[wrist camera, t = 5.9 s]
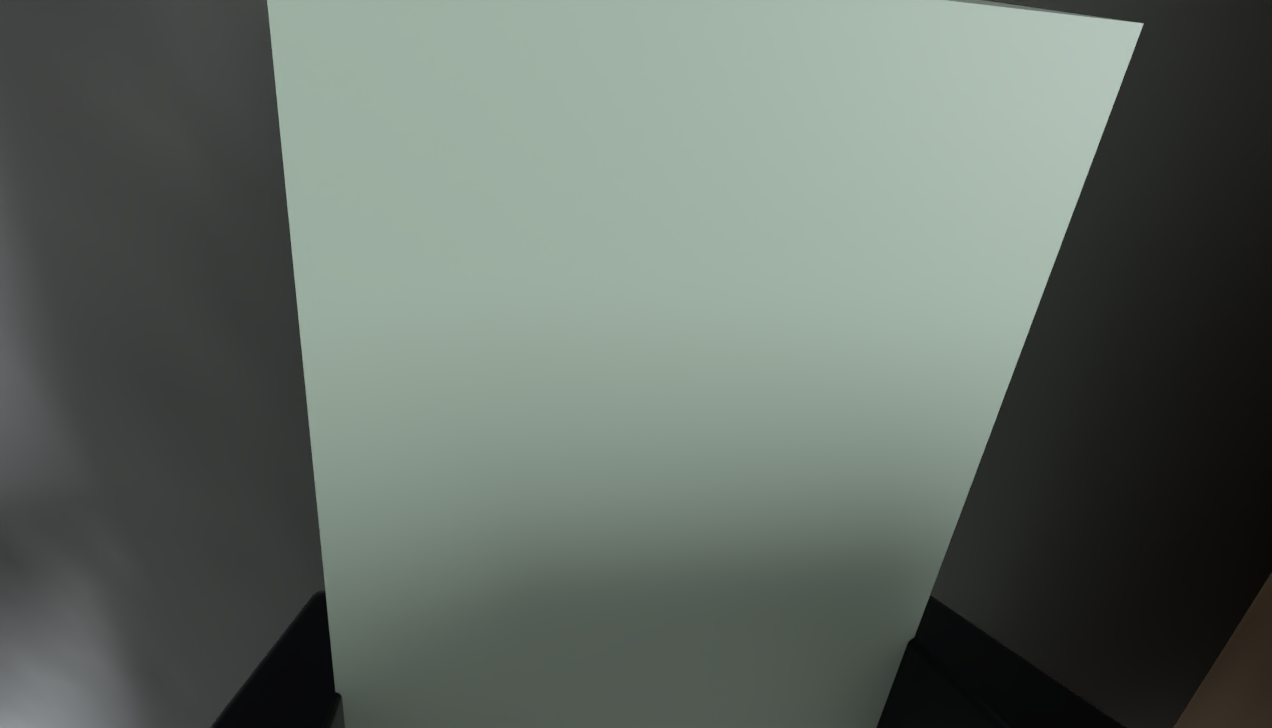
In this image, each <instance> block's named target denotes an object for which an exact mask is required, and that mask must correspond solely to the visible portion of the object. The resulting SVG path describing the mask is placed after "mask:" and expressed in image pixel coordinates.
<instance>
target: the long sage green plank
mask: <svg viewBox="0 0 1272 728" xmlns="http://www.w3.org/2000/svg"><path fill="white" fill-rule="evenodd" d="M267 5H268V15H269V25H270V35H271V45H272V56H273V66H274V76H275V86H276V96H277V106H278V116H279V126H280V137H281V147H282V157H283V167H284V177H285V187H286V197H287V207H288V218H289V228H290V238H291V248H292V258H293V268H294V278H295V288H296V299H297V309H298V319H299V329H300V339H301V349H302V359H303V369H304V380H305V390H306V400H307V410H308V420H309V430H310V440H311V450H312V461H313V471H314V481H315V491H316V501H317V511H318V521H319V531H320V542H321V552H322V562H323V572H324V582H325V592H326V602H327V612H328V623H329V633H330V643H331V653H332V663H333V673H334V683H335V692H337V693H339V694H340V695H341V696H342V701H343V712H344V723H345V728H876V727H877V725H878V722H879V719H880V717H881V714H882V711H883V708H884V706H885V703H886V700H887V698H888V695H889V692H890V690H891V687H892V684H893V681H894V679H895V676H896V673H897V671H898V668H899V665H900V662H901V660H902V657H903V654H904V652H905V649H906V646H907V644H908V642H909V641H910V640H911V639H912V638H914V637H915V634H916V631H917V629H918V626H919V623H920V621H921V618H922V615H923V613H924V610H925V607H926V605H927V602H928V599H929V597H930V594H931V591H932V589H933V586H934V583H935V581H936V578H937V575H938V572H939V570H940V567H941V564H942V562H943V559H944V556H945V554H946V551H947V548H948V546H949V543H950V540H951V538H952V535H953V532H954V530H955V527H956V524H957V522H958V519H959V516H960V514H961V511H962V508H963V506H964V503H965V500H966V498H967V495H968V492H969V490H970V487H971V484H972V482H973V479H974V476H975V474H976V471H977V468H978V466H979V463H980V460H981V458H982V455H983V452H984V449H985V447H986V444H987V441H988V439H989V436H990V433H991V431H992V428H993V425H994V423H995V420H996V417H997V415H998V412H999V409H1000V407H1001V404H1002V401H1003V399H1004V396H1005V393H1006V391H1007V388H1008V385H1009V383H1010V380H1011V377H1012V375H1013V372H1014V369H1015V367H1016V364H1017V361H1018V359H1019V356H1020V353H1021V351H1022V348H1023V345H1024V343H1025V340H1026V337H1027V335H1028V332H1029V329H1030V326H1031V324H1032V321H1033V318H1034V316H1035V313H1036V310H1037V308H1038V305H1039V302H1040V300H1041V297H1042V294H1043V292H1044V289H1045V286H1046V284H1047V281H1048V278H1049V276H1050V273H1051V270H1052V268H1053V265H1054V262H1055V260H1056V257H1057V254H1058V252H1059V249H1060V246H1061V244H1062V241H1063V238H1064V236H1065V233H1066V230H1067V228H1068V225H1069V222H1070V220H1071V217H1072V214H1073V212H1074V209H1075V206H1076V203H1077V201H1078V198H1079V195H1080V193H1081V190H1082V187H1083V185H1084V182H1085V179H1086V177H1087V174H1088V171H1089V169H1090V166H1091V163H1092V161H1093V158H1094V155H1095V153H1096V150H1097V147H1098V145H1099V142H1100V139H1101V137H1102V134H1103V131H1104V129H1105V126H1106V123H1107V121H1108V118H1109V115H1110V113H1111V110H1112V107H1113V105H1114V102H1115V99H1116V97H1117V94H1118V91H1119V89H1120V86H1121V83H1122V80H1123V78H1124V75H1125V72H1126V70H1127V67H1128V64H1129V62H1130V59H1131V56H1132V54H1133V51H1134V48H1135V46H1136V43H1137V40H1138V38H1139V35H1140V32H1141V30H1142V27H1143V24H1144V23H1137V22H1131V21H1124V20H1117V19H1110V18H1103V17H1096V16H1089V15H1082V14H1075V13H1068V12H1061V11H1054V10H1047V9H1040V8H1033V7H1026V6H1019V5H1012V4H1005V3H998V2H992V1H985V0H267Z"/></svg>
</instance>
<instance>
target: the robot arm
mask: <svg viewBox="0 0 1272 728" xmlns="http://www.w3.org/2000/svg"><path fill="white" fill-rule="evenodd" d="M210 728H345V723H344V712H343V701H342V696H341V695H340V694H339V693H337V692H335V683H334V673H333V663H332V653H331V643H330V633H329V623H328V612H327V602H326V592H325V590H323V591H319V592H317V593H316V594H314V595H313V596H312V597H311V599H310V600H309V601H308V603H307V604H306V605H305V606H304V608H303V609H302V610H301V611H300V613H299V614H298V615H297V617H296V618H295V619H294V620H293V622H292V623H291V624H290V626H289V627H288V628H287V629H286V631H285V632H284V633H283V635H282V636H281V637H280V638H279V640H278V641H277V642H276V644H275V645H274V646H273V647H272V649H271V650H270V651H269V653H268V654H267V655H266V656H265V658H264V659H263V660H262V662H261V663H260V664H259V665H258V667H257V668H256V669H255V671H254V672H253V673H252V674H251V676H250V677H249V678H248V680H247V681H246V682H245V683H244V685H243V686H242V687H241V689H240V690H239V691H238V692H237V694H236V695H235V696H234V697H233V699H232V700H231V701H230V703H229V704H228V705H227V706H226V708H225V709H224V710H223V712H222V713H221V714H220V715H219V717H218V718H217V719H216V721H215V722H214V723H213V724H212V726H211V727H210ZM876 728H1126V727H1124V726H1123V725H1121V724H1120V723H1118V722H1117V721H1115V720H1114V719H1112V718H1111V717H1110V716H1108V715H1107V714H1105V713H1104V712H1102V711H1101V710H1099V709H1098V708H1096V707H1095V706H1093V705H1092V704H1090V703H1089V702H1087V701H1086V700H1084V699H1083V698H1081V697H1080V696H1078V695H1077V694H1076V693H1074V692H1073V691H1071V690H1070V689H1068V688H1067V687H1065V686H1064V685H1062V684H1061V683H1059V682H1058V681H1056V680H1055V679H1053V678H1052V677H1050V676H1049V675H1047V674H1046V673H1045V672H1043V671H1042V670H1040V669H1039V668H1037V667H1036V666H1034V665H1033V664H1031V663H1030V662H1028V661H1027V660H1025V659H1024V658H1022V657H1021V656H1019V655H1018V654H1016V653H1015V652H1013V651H1012V650H1011V649H1009V648H1008V647H1006V646H1005V645H1003V644H1002V643H1000V642H999V641H997V640H996V639H994V638H993V637H991V636H990V635H988V634H987V633H985V632H984V631H982V630H981V629H979V628H978V627H977V626H975V625H974V624H972V623H971V622H969V621H968V620H966V619H965V618H963V617H962V616H960V615H959V614H957V613H956V612H954V611H953V610H951V609H950V608H948V607H947V606H946V605H944V604H943V603H941V602H940V601H938V600H937V599H935V598H934V597H932V596H931V595H930V597H929V599H928V602H927V605H926V607H925V610H924V613H923V615H922V618H921V621H920V623H919V626H918V629H917V631H916V634H915V637H914V638H912V639H911V640H910V641H909V642H908V644H907V646H906V649H905V652H904V654H903V657H902V660H901V662H900V665H899V668H898V671H897V673H896V676H895V679H894V681H893V684H892V687H891V690H890V692H889V695H888V698H887V700H886V703H885V706H884V708H883V711H882V714H881V717H880V719H879V722H878V725H877V727H876Z"/></svg>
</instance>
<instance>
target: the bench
mask: <svg viewBox="0 0 1272 728" xmlns="http://www.w3.org/2000/svg"><path fill="white" fill-rule="evenodd" d="M1173 728H1272V572H1271V574H1270V576H1269V577H1268V579H1267V580H1266V582H1265V584H1264V585H1263V587H1262V588H1261V590H1260V591H1259V593H1258V595H1257V596H1256V598H1255V599H1254V601H1253V602H1252V604H1251V606H1250V607H1249V609H1248V610H1247V612H1246V613H1245V615H1244V617H1243V618H1242V620H1241V621H1240V623H1239V625H1238V626H1237V628H1236V629H1235V631H1234V632H1233V634H1232V636H1231V637H1230V639H1229V640H1228V642H1227V643H1226V645H1225V647H1224V648H1223V650H1222V651H1221V653H1220V654H1219V656H1218V658H1217V659H1216V661H1215V662H1214V664H1213V666H1212V667H1211V669H1210V670H1209V672H1208V673H1207V675H1206V677H1205V678H1204V680H1203V681H1202V683H1201V684H1200V686H1199V688H1198V689H1197V691H1196V692H1195V694H1194V695H1193V697H1192V699H1191V700H1190V702H1189V703H1188V705H1187V707H1186V708H1185V710H1184V711H1183V713H1182V714H1181V716H1180V718H1179V719H1178V721H1177V722H1176V724H1175V725H1174V727H1173Z"/></svg>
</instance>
